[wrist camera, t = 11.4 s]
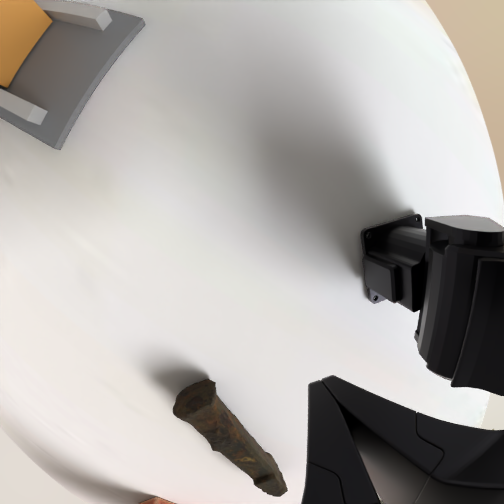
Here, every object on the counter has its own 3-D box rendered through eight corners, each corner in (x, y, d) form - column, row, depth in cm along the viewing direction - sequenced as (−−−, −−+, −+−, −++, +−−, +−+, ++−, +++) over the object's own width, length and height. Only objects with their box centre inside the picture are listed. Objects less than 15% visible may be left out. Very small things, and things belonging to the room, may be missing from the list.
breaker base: (145, 24, 15) (132, -13, 10) (60, 149, 16) (22, 140, 11) (37, 2, 12) (16, -20, 6) (-28, 100, 13) (-58, 90, 8)
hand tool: (172, 387, 22) (167, 423, 17) (212, 372, 22) (214, 408, 17) (257, 479, 26) (263, 506, 22) (287, 469, 27) (295, 496, 22)
